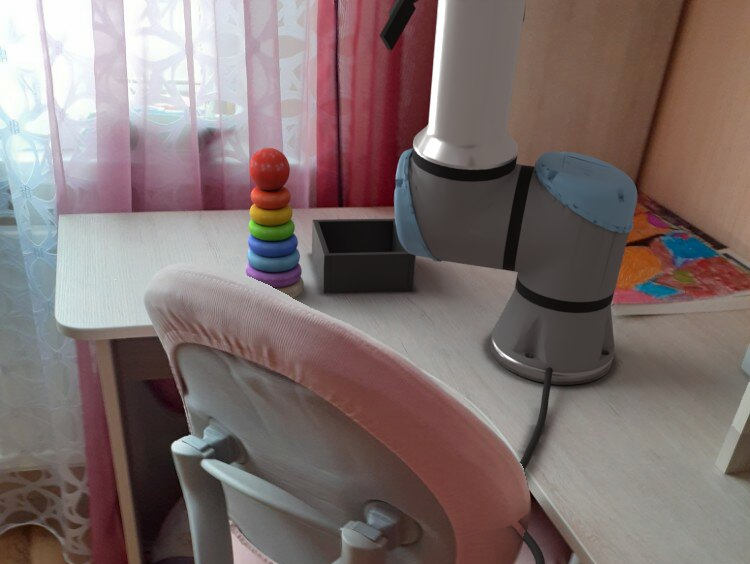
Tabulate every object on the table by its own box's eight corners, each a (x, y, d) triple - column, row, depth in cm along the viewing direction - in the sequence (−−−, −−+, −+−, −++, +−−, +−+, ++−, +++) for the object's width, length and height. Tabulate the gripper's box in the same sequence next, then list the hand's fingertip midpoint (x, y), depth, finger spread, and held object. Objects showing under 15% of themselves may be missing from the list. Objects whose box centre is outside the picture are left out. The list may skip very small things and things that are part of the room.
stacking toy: (307, 281, 119) (308, 143, 107) (298, 306, 113) (298, 163, 101) (252, 275, 119) (247, 137, 107) (239, 301, 113) (232, 157, 101)
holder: (412, 291, 118) (416, 253, 115) (323, 293, 116) (324, 255, 113) (394, 254, 128) (397, 218, 124) (311, 255, 126) (312, 219, 122)
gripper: (597, -54, 107) (513, 92, 107) (440, -78, 119) (365, 54, 119) (585, -105, 100) (496, 51, 101) (421, -125, 112) (341, 15, 113)
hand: (425, 53), depth 110 cm, fingers open, 13 cm apart
